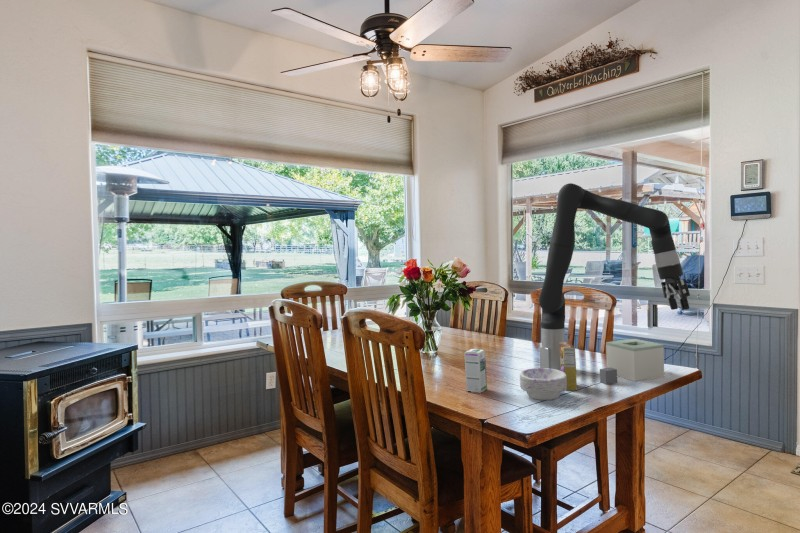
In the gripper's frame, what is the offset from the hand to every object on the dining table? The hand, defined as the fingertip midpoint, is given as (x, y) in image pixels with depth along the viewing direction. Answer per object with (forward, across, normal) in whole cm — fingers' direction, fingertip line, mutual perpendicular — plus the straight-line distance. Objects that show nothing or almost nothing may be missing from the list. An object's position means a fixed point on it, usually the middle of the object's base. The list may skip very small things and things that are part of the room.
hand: (680, 309), depth 171 cm
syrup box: (+14, +2, -76) cm, 77 cm away
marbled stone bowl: (+19, +9, -54) cm, 58 cm away
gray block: (+22, -6, -28) cm, 36 cm away
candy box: (+20, -1, -44) cm, 48 cm away
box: (+22, -16, -15) cm, 31 cm away
